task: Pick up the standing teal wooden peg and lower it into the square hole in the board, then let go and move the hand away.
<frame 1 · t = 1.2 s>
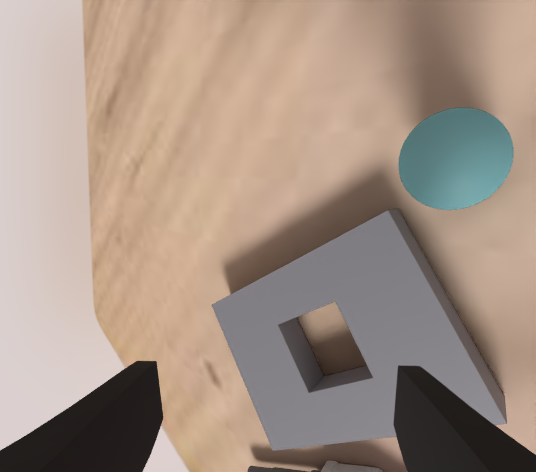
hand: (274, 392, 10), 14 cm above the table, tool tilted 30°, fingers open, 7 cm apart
peg: (465, 173, 18), on the table
socket board: (336, 335, 23), on the table
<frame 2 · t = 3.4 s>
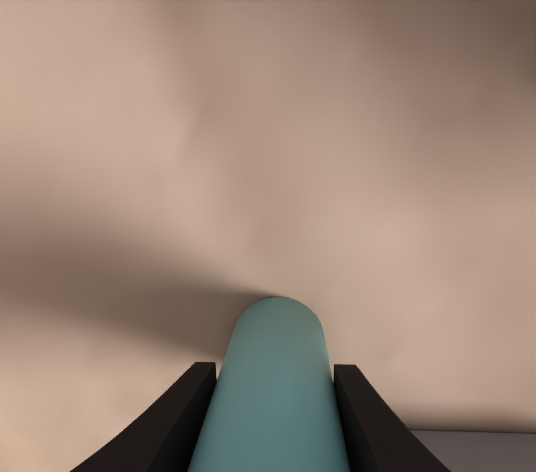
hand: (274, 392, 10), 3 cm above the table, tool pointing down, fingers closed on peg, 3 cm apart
peg: (278, 339, 12), on the table, touching gripper
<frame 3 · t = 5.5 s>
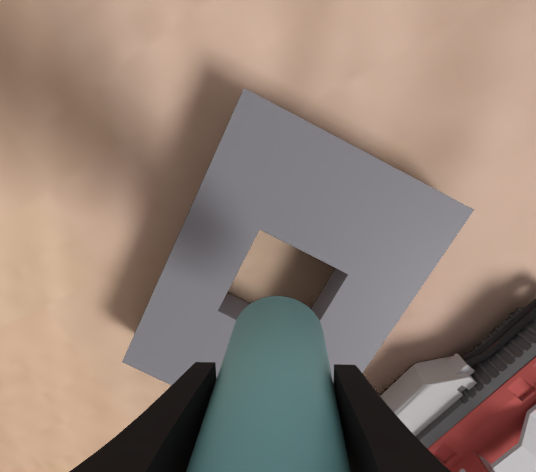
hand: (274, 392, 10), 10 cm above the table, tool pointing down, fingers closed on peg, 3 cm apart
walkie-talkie: (438, 412, 21), on the table
peg: (277, 338, 12), point 7 cm above the table, touching gripper
socket board: (282, 276, 19), on the table
when the fingers open (4 cm above the table, at t = 6.8 s): peg stays where it is, resting in socket board.
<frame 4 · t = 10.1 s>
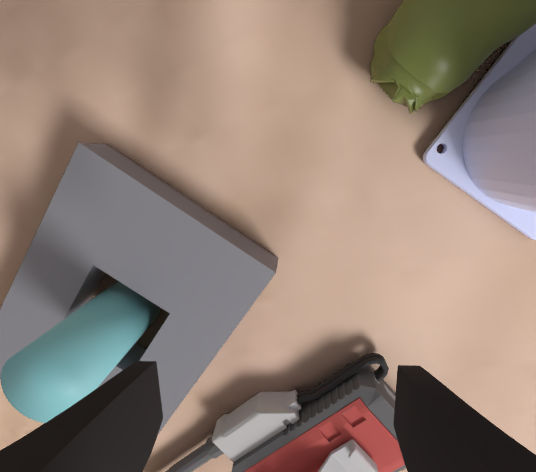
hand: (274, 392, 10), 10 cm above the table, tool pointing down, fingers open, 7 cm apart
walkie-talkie: (280, 437, 23), on the table
pear: (443, 21, 16), on the table
peg: (134, 302, 21), resting in socket board
socket board: (133, 302, 21), on the table
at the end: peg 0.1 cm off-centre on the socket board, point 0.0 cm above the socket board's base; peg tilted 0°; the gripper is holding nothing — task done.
